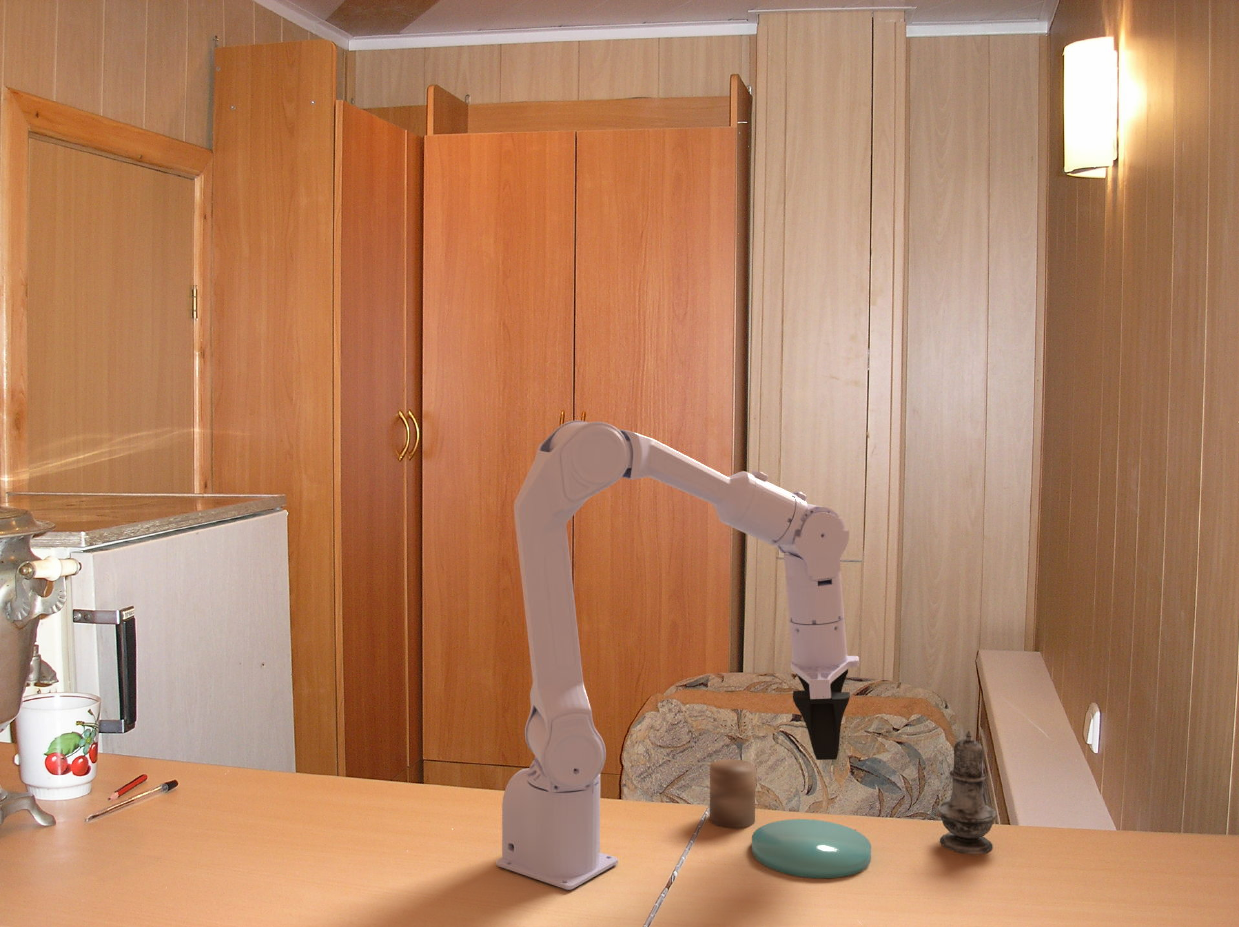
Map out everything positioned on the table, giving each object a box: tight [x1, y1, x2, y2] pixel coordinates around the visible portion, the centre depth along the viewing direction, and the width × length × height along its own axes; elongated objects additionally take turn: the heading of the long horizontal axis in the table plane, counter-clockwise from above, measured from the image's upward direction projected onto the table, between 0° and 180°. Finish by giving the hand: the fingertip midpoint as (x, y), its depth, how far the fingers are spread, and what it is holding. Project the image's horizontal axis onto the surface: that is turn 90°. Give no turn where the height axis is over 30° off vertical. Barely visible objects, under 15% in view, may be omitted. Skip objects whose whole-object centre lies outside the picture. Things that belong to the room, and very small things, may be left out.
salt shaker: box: [937, 730, 997, 855], centre depth 113 cm, size 6×6×12 cm
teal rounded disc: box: [751, 818, 872, 879], centre depth 111 cm, size 12×12×1 cm
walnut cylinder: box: [709, 758, 757, 830], centre depth 119 cm, size 5×5×6 cm
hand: (826, 745), depth 113 cm, fingers open, 7 cm apart
